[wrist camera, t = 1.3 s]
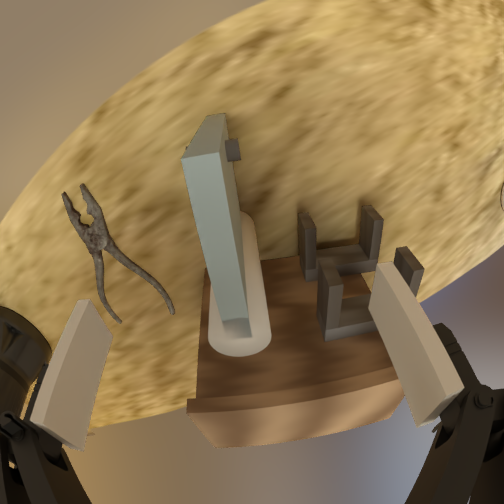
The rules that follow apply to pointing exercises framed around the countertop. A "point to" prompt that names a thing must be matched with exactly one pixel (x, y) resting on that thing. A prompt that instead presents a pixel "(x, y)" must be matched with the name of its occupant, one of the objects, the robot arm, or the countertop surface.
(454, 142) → the countertop surface
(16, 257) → the countertop surface
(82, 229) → the pliers
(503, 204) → the pill bottle
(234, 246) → the door
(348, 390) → the cabinet
